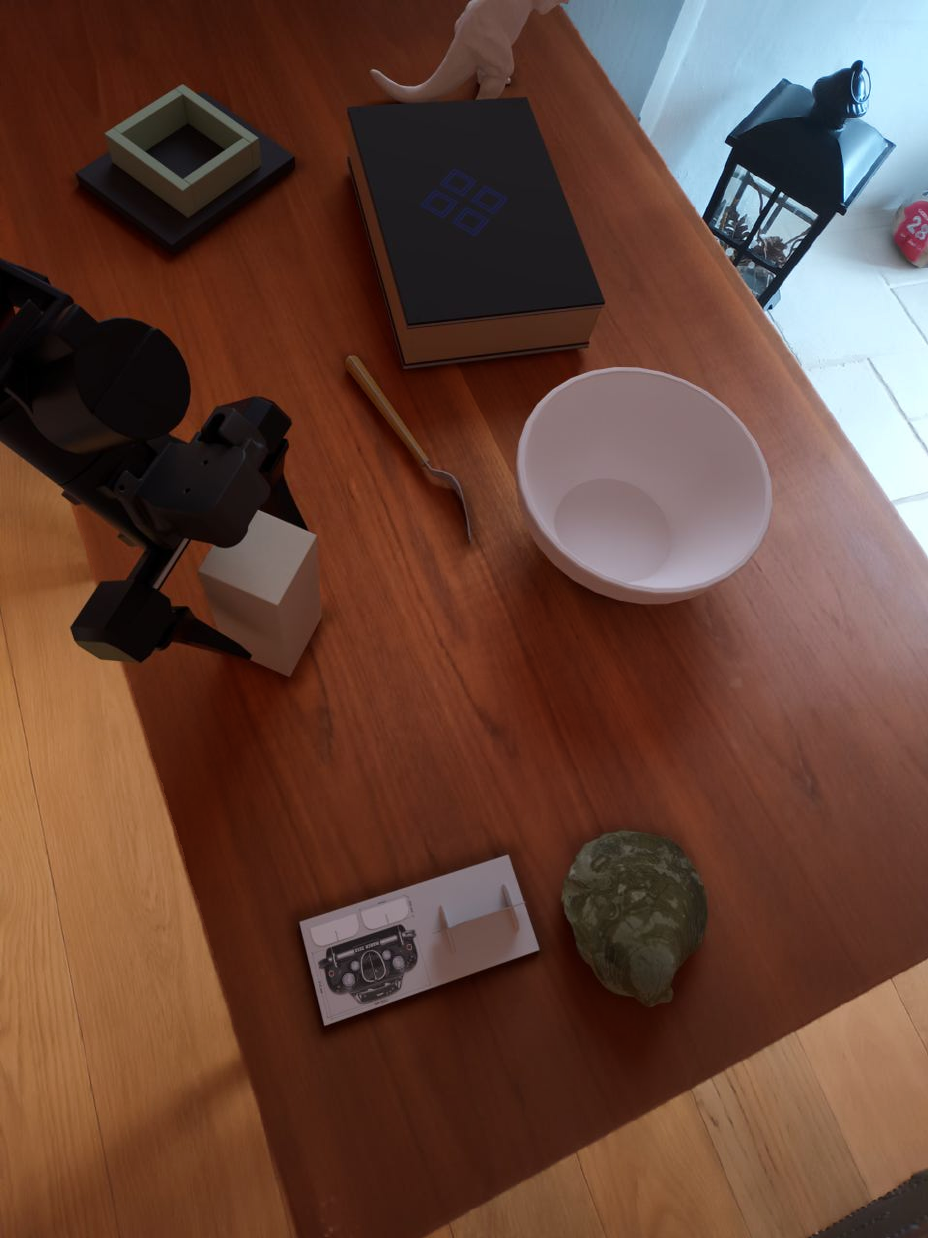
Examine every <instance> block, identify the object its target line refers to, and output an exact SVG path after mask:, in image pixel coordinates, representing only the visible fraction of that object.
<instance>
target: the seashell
mask: <svg viewBox="0 0 928 1238" xmlns="http://www.w3.org/2000/svg"><path fill="white" fill-rule="evenodd" d="M561 892H562V893H561V899H560V902H561V905H562V907H563V909H564V915H565V916H566V919H567V922H569V924H570V926H571V928H572V931H573V935H574V939H575V944H576V949H577V952H578V954H579V956H580V958H581V959H582V960H583V961H584V962H585V963H586V964H587V965H589V967H590V969H591V970H592V972H593V974H594V975H595V977H596V978H597V980H598V981H599V982H600V983H601V984H602V985H603V986H604V988H605V989H607V990H608V991H609V992H611V993H614V994H616V995H620V996H623V997H633V998H634V999H635V1000H637V1001H638V1002H639V1003H640V1004H642V1005H643V1006H645V1007H647V1008H651V1007H654V1006H656V1005H658V1004H663V1003H666V1004H667V1003H670V1002H671V1001H672V1000H673V996H674V991H673V988H672V987H671V985H672V982H673V979H674V977H675V974H676V972H677V971H678V969H679V968H680V967H681V966H682V965H683V964H684V963H685V962H686V960H687V959H688V958H689V956H690V955H691V954H693V953H694V952H695V951H696V950H698V949H699V948H700V947H701V945H702V943H703V939H704V935H705V933H706V931H707V928H708V921H709V905H708V898H707V893H706V889H705V887H704V884H703V882H702V878H701V875H700V874H699V873H698V871H697V869H696V868H695V866H694V864H693V863H692V861H691V860H690V859H689V857H688V856H687V855H686V853H685V851H684V850H683V849H682V847H681V846H680V845H679V844H678V843H677V842H676V841H675V840H672V839H671V838H670V837H664V836H660V835H656V834H652V833H647V832H640V831H630V830H628V829H627V830H626V829H620V830H618V831H615V832H606V833H605V832H604V833H602V834H601V835H600V836H599V837H598V838H595V839H592V840H591V841H589V842H588V841H587V842H585V843H584V844H583V845H582V846H581V848H580V850H579V851H578V852H577V854H576V856H575V858H574V859H573V863H572V865H571V866H570V868H569V870H568V872H567V874H566V876H565V878H564V880H563V881H562V891H561Z"/></svg>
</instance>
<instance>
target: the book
mask: <svg viewBox="0 0 928 1238" xmlns="http://www.w3.org/2000/svg"><path fill="white" fill-rule="evenodd" d="M346 110H347V112H346V114H347V117H348V123H349V124H348V125H349V126H348V127H349V129H348V130H349V131H348V139H349V140H348V156H346V164H347V167H348V171H349V172H348V173H349V175H350V179H351V182H352V186H353V190H354V194H355V197H356V201H357V204H358V209H359V212H360V216H361V220H362V222H363V226H364V230H365V234H366V237H367V240H368V241H367V242H368V244H369V249H370V253H371V256H372V260H373V263H374V267H375V271H376V275H377V279H378V282H379V285H380V289H381V293H382V297H383V300H384V304H385V308H386V312H387V315H388V319H389V323H390V326H391V329H392V333H393V337H394V342H395V345H396V348H397V352H398V356H399V359H400V363H401V367H402V370H403V371H407V370H415V369H423V368H431V367H439V366H447V365H457V364H464V363H473V362H479V361H481V362H482V361H488V360H496V359H498V360H499V359H507V358H514V357H522V356H530V355H539V354H546V353H555V352H564V351H571V350H580V349H588V348H589V345H590V341H589V340H590V338H591V335H592V333H593V331H594V328H595V325H596V322H597V320H598V317H599V314H600V312H601V310H602V308H605V305H606V300H605V297H604V295H603V292H602V289H601V286H600V285H599V282H598V279H597V276H596V274H595V271H594V269H593V266H592V263H591V261H590V257H589V256H588V252H587V250H586V247H585V245H584V243H583V240H582V238H581V235H580V232H579V229H578V227H577V225H576V221H575V219H574V216H573V214H572V211H571V209H570V206H569V203H568V201H567V198H566V196H565V192H564V190H563V187H562V185H561V182H560V180H559V177H558V174H557V172H556V168H555V167H554V164H553V162H552V158H551V156H550V153H549V151H548V149H547V146H546V143H545V140H544V138H543V135H542V133H541V130H540V128H539V125H538V122H537V119H536V117H535V115H534V112H533V108H532V106H531V103H530V101H529V99H528V97H527V96H518V97H517V96H516V97H497V98H496V99H479V100H475V99H465V100H464V99H461V100H446V101H436V102H425V103H407V104H406V103H395V104H394V103H390V104H389V103H388V104H374V105H370V104H369V105H355V106H353V105H352V106H347V108H346Z"/></svg>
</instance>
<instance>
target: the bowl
mask: <svg viewBox="0 0 928 1238" xmlns="http://www.w3.org/2000/svg"><path fill="white" fill-rule="evenodd" d="M516 449H517V450H516V458H515V467H514V480H515V488H516V496H517V497H516V498H517V505H518V507H519V511H520V513H521V516H522V519H523V522H524V525H525V527H526V529H527V531H528V532H529V534H530V536H531V537H532V539H533V541H534V542H535V544H536V546H537V547H538V548H539V550H541V552H542V553H543V554H544V555H545V556H546V557H547V559H548V560H549V561H550V562H551V563H552V564H553V565H554V566H555V568H557V569H558V570H559V571H561V572H562V573H563V574H565V575H566V577H568V578H569V579H571V580H572V581H574V582H575V583H577V584H579V585H580V586H582V587H584V588H586V589H587V590H590V591H591V592H594V593H596V594H599V595H601V596H605V597H608V598H610V599H613V600H617V601H620V602H627V603H633V604H640V605H668V604H671V603H677V602H681V601H686V600H690V599H692V598H695V597H697V596H699V595H702V594H704V593H707V592H708V591H711V590H713V589H715V588H717V587H719V586H721V585H723V584H724V583H725V582H726V581H728V580H729V579H730V578H732V577H733V576H734V575H735V574H736V573H738V572H739V571H740V570H741V569H743V568H744V567H746V565H747V564H748V563H749V562H750V561H751V559H752V558H753V557H754V556H755V555H756V553H757V552H758V551H759V549H760V547H761V545H762V544H763V541H764V539H765V537H766V534H767V532H768V531H769V528H770V523H771V517H772V512H773V483H772V480H771V477H770V476H771V475H770V472H769V468H768V464H767V462H766V459H765V457H764V455H763V453H762V451H761V449H760V446H759V444H758V443H757V441H756V440H755V438H754V437H753V435H752V434H751V432H750V431H749V429H748V428H747V426H746V425H745V424H744V422H743V421H742V420H741V419H739V418H738V416H737V415H736V414H735V412H733V411H732V410H731V409H730V408H729V407H728V406H727V405H726V404H724V403H723V402H722V401H720V400H719V399H718V398H717V397H715V396H714V395H712V394H711V393H710V392H708V391H706V390H705V389H703V388H702V387H699V386H697V385H695V384H694V383H692V382H689V381H688V380H686V379H683V378H680V377H678V376H675V375H672V374H669V373H666V372H663V371H659V370H653V369H648V368H643V367H628V366H627V367H626V366H625V367H623V366H621V367H620V366H618V367H617V366H613V367H608V368H603V369H601V368H600V369H594V370H591V371H587V372H585V373H582V374H579V375H577V376H574V377H571V378H569V379H567V380H566V381H564V382H563V383H560V384H559V385H558V386H556V387H554V388H553V389H551V390H550V391H549V392H548V393H547V394H546V395H545V396H544V397H543V398H541V400H540V401H539V402H538V403H537V404H536V406H535V407H534V409H533V410H532V412H531V413H530V415H529V416H528V418H527V419H526V421H525V423H524V426H523V428H522V432H521V435H520V438H519V440H518V444H517V448H516Z"/></svg>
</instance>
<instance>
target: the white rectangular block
mask: <svg viewBox="0 0 928 1238" xmlns="http://www.w3.org/2000/svg"><path fill="white" fill-rule="evenodd" d="M318 549H319V548H318V535H317V534H315V533H313V532H310V531H309V532H308V531H306V530H303V529H301V528H299V527H296V526H294V525H292V524H290V523H287V522H285V521H283V520H280V519H278V518H276V517H273V516H271V515H269V514H266V513H264V512H262V511H259V510H258V511H257V512H256V514H255V516H254V517H253V519H252V521H251V522H250V524H249V526H248V532H247V534H246V536H245V537H244V539H243V540H242V541H241V542H240V543H239V544H237V545H236V546H234V547H231V548H220V547H216V546H215V545H213V544H212V546H211V547H210V549H209V550H208V553H206V556H205V557H204V559H203V560H202V561H201V563H200V566H199V567H198V568H197V575H198V577H199V580H200V583H201V587H202V589H203V591H204V594H205V598H206V601H207V603H208V606H209V609H210V611H211V614H212V618H213V620H214V623H215V625H216V630H217V631H219V632H221V633H222V634H224V635H226V636H227V637H229V638H230V639H232V640H234V641H235V642H237V643H239V644H240V645H241V646H242V647H244V648H245V649H246V650H247V651H248V652H249V653H251V654H252V657H251V659H250V660H249V661H252V662H254V663H256V664H259V665H261V666H263V667H265V668H267V669H270V670H272V671H274V672H276V673H279V674H281V675H283V676H286V677H288V678H290V677H292V674H293V672H294V670H295V669H296V666H297V664H298V663H299V661H300V659H301V658H302V655H303V653H304V651H305V649H306V648H307V646H308V644H309V642H310V640H311V638H312V636H313V635H314V633H315V630H316V629H317V627H318V625H319V623H320V621H321V619H322V605H321V604H322V603H321V601H322V600H321V585H320V565H319V550H318Z"/></svg>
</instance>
